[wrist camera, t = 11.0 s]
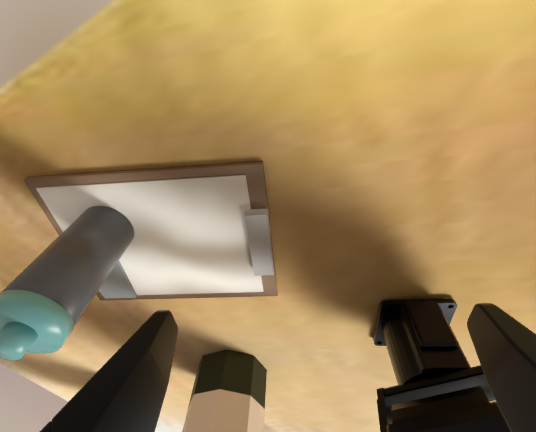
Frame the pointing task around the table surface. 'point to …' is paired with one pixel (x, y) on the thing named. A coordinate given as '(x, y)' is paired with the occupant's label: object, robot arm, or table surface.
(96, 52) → the table surface
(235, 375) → the wine bottle
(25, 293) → the water bottle
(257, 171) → the clipboard
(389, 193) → the table surface
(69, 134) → the table surface
